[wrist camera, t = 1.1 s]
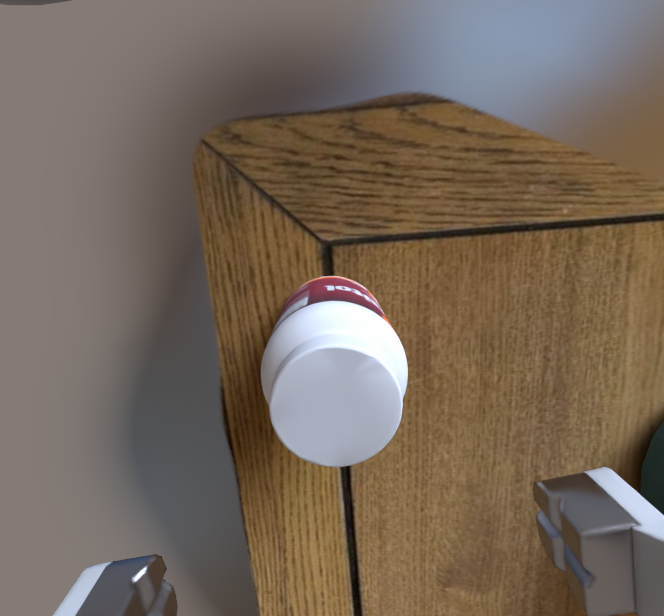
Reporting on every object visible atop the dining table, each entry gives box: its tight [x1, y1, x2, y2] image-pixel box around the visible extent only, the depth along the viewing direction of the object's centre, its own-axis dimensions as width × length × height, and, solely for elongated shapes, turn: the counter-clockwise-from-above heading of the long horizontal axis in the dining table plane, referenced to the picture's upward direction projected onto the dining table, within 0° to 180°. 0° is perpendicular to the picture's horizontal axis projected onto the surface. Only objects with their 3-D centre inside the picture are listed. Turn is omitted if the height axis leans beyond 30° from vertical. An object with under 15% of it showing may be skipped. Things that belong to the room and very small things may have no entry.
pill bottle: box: [261, 276, 408, 467], centre depth 20 cm, size 6×6×11 cm
